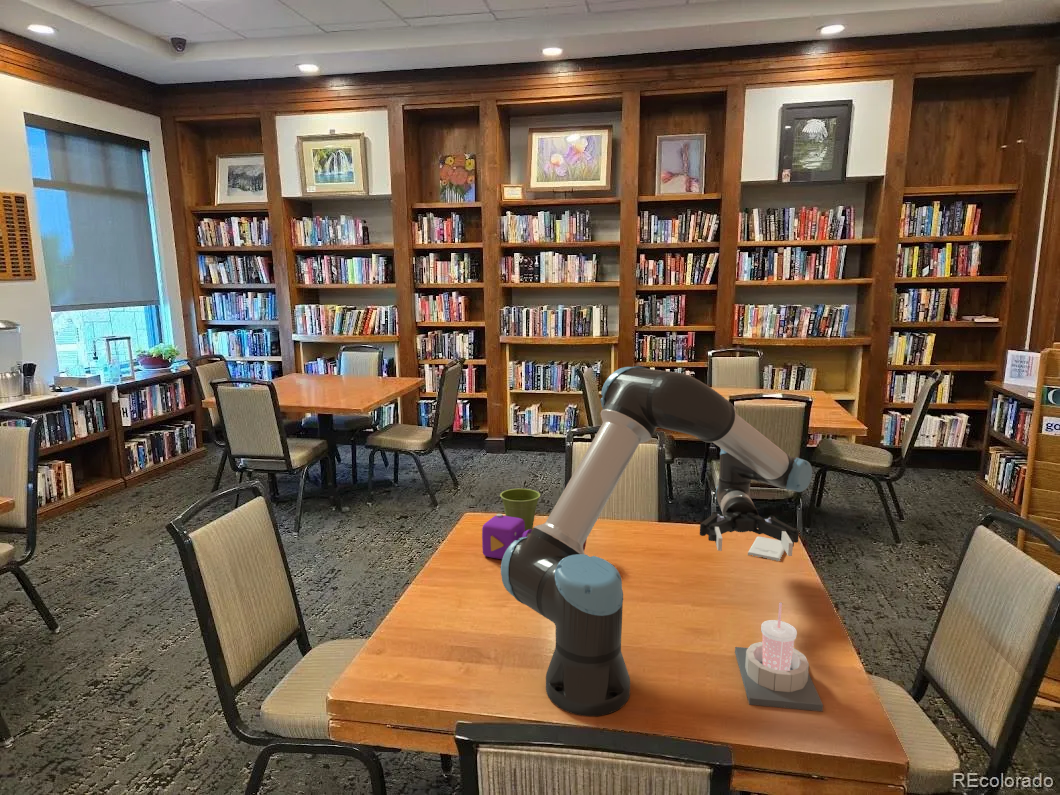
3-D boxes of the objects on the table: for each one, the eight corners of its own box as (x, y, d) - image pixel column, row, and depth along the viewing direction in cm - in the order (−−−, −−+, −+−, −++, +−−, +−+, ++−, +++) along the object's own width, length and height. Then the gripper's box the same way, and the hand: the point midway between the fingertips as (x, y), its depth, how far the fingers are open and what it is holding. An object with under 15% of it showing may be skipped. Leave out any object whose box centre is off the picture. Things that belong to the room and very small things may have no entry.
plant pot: (545, 536, 184) (544, 499, 182) (505, 540, 181) (504, 502, 179) (534, 521, 195) (534, 486, 193) (497, 525, 192) (496, 489, 190)
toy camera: (530, 565, 165) (530, 528, 163) (479, 560, 168) (479, 525, 166) (538, 548, 176) (538, 514, 174) (490, 544, 178) (489, 510, 176)
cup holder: (749, 704, 110) (750, 680, 109) (734, 652, 125) (736, 631, 125) (822, 711, 108) (824, 687, 107) (798, 657, 124) (800, 636, 123)
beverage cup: (789, 665, 119) (794, 596, 117) (797, 685, 113) (802, 612, 111) (755, 662, 120) (759, 593, 118) (761, 681, 114) (765, 610, 112)
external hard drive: (787, 547, 177) (779, 563, 166) (756, 541, 181) (747, 557, 170) (787, 541, 177) (779, 557, 166) (757, 535, 181) (747, 551, 170)
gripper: (793, 530, 147) (818, 569, 126) (683, 523, 151) (690, 559, 131) (796, 499, 146) (822, 533, 125) (685, 493, 150) (692, 525, 129)
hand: (755, 547), depth 128 cm, fingers open, 13 cm apart
